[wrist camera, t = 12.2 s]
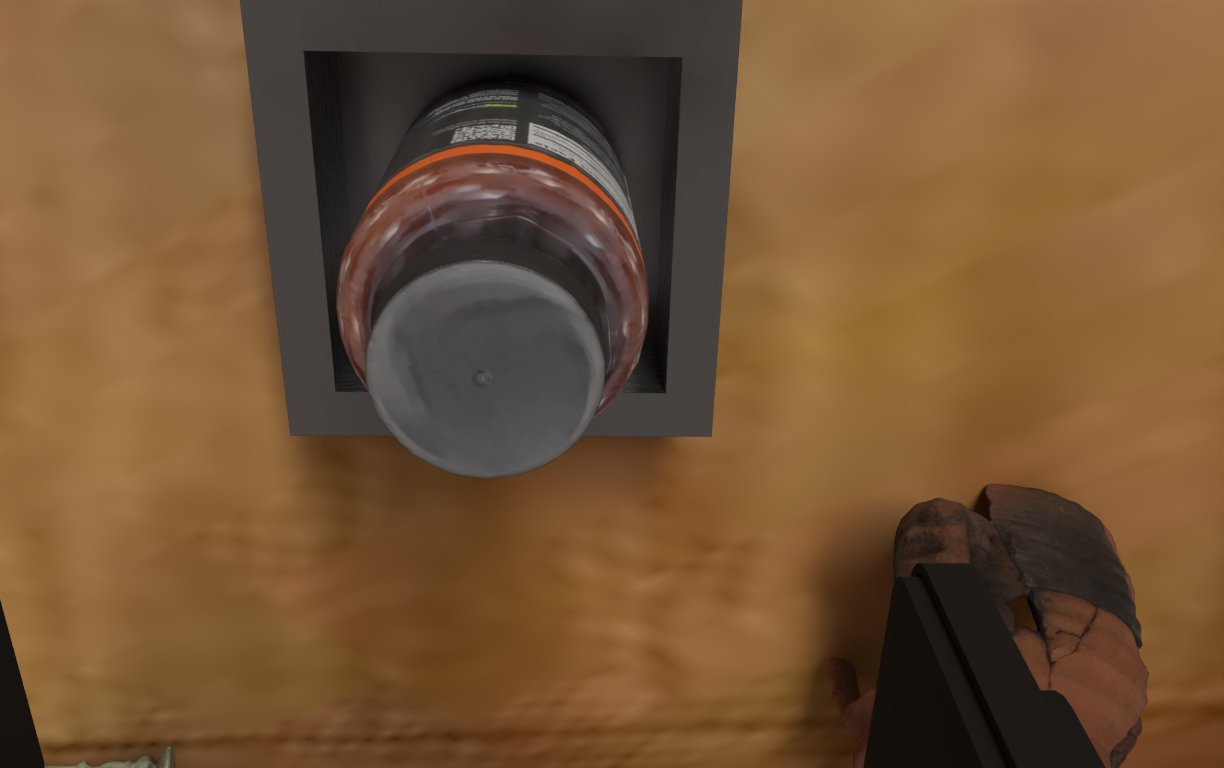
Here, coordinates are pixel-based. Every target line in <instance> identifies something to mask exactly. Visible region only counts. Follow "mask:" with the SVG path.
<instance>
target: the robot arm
mask: <svg viewBox="0 0 1224 768" xmlns="http://www.w3.org/2000/svg"><path fill="white" fill-rule="evenodd" d="M0 768H45V765H44V760H43V756H42V752H41V749H40V745H39V741H38V738H37V734H36V730H35V726H34V723H33V719H32V715H31V712H30V708H29V704H28V701H27V697H26V693H25V690H24V686H23V682H22V678H21V675H20V671H19V667H18V664H17V660H16V656H15V653H14V649H13V645H12V642H11V638H10V634H9V631H8V627H7V623H6V619H5V616H4V612H3V608H2V605H1V601H0ZM863 768H1106V767H1105V766H1104V764H1103V762H1102V760H1101V758H1100V757H1099V755H1098V753H1097V751H1096V749H1095V748H1094V746H1093V744H1092V742H1091V740H1090V739H1089V737H1088V735H1087V733H1086V731H1085V730H1084V728H1083V726H1082V724H1081V722H1080V721H1079V719H1078V717H1077V715H1076V713H1075V712H1074V710H1073V708H1072V706H1071V705H1070V704H1069V702H1068V701H1067V700H1066V698H1065V697H1064V695H1062V694H1060V693H1059V692H1057V691H1055V690H1040V688H1039V686H1038V684H1037V682H1036V680H1035V679H1034V677H1033V675H1032V673H1031V671H1030V669H1029V667H1028V665H1027V663H1026V662H1025V660H1024V658H1023V656H1022V654H1021V652H1020V650H1019V648H1018V646H1017V645H1016V643H1015V641H1014V639H1013V637H1012V635H1011V633H1010V631H1009V629H1008V628H1007V626H1006V624H1005V622H1004V620H1003V618H1002V616H1001V614H1000V612H999V611H998V609H997V607H996V605H995V603H994V601H993V599H992V597H991V596H990V594H989V592H988V590H987V588H986V586H985V584H984V582H983V580H982V579H981V577H980V575H979V573H978V571H977V570H976V568H975V567H974V566H973V565H972V564H970V563H917V564H916V565H915V566H914V568H913V570H912V572H911V576H910V577H909V576H899V577H897V578H896V580H895V582H894V586H893V591H892V597H891V603H890V609H889V615H888V621H887V627H886V633H885V639H884V645H883V651H882V657H881V663H880V669H879V675H878V681H877V687H876V693H875V699H874V705H873V711H872V717H871V723H870V729H869V735H868V741H867V747H866V753H865V759H864V767H863Z"/></svg>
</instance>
